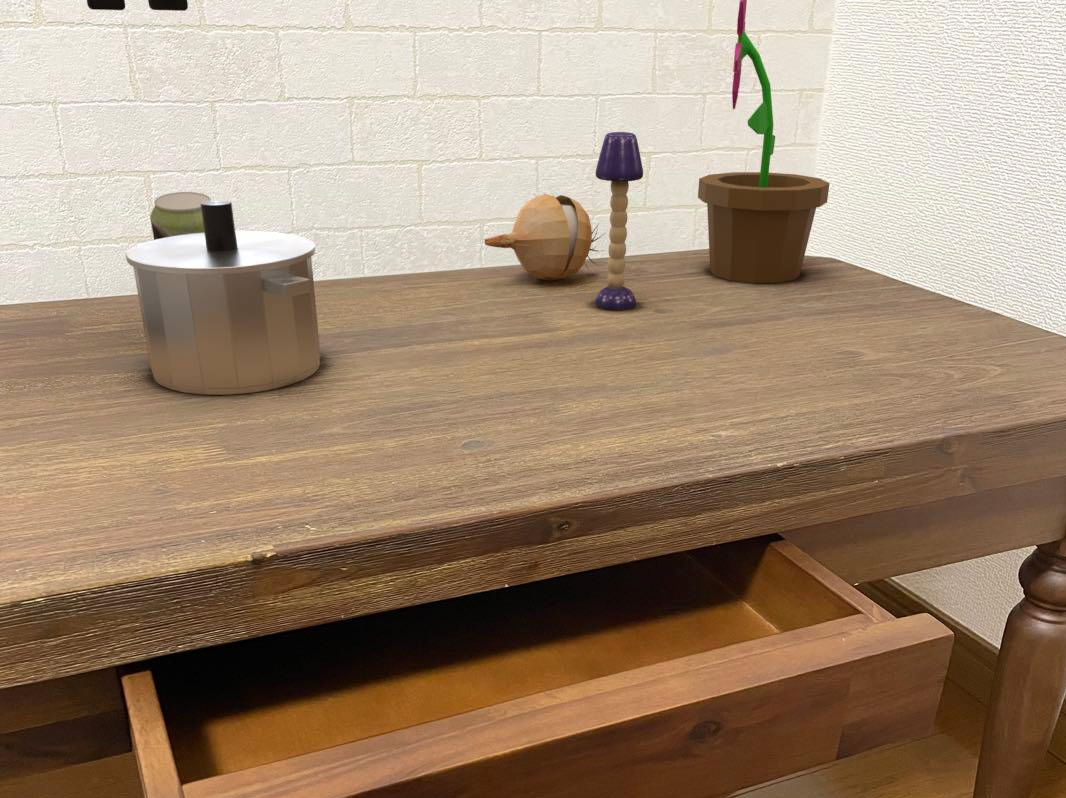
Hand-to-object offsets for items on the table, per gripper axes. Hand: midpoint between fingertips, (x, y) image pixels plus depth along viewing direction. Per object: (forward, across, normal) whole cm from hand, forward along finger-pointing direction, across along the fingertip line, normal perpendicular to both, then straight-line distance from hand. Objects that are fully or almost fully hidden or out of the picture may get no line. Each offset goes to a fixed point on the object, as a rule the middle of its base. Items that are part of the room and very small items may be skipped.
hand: (137, 9), depth 87 cm
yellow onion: (+27, +12, +38) cm, 48 cm away
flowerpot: (+26, +28, +57) cm, 69 cm away
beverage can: (+27, 0, +2) cm, 27 cm away
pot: (+27, +15, -4) cm, 31 cm away
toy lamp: (+27, +26, +34) cm, 50 cm away
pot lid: (+18, +15, -4) cm, 23 cm away
